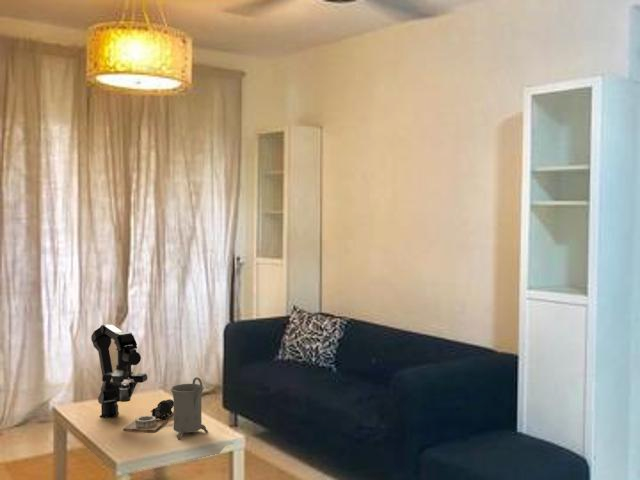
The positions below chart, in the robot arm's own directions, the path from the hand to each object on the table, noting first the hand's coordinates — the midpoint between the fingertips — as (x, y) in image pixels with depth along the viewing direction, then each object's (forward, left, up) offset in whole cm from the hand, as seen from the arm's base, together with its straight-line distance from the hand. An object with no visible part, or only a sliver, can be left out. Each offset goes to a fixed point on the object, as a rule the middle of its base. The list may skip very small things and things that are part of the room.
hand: (125, 396), depth 292 cm
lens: (0, 0, -2) cm, 2 cm away
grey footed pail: (+32, -9, -12) cm, 36 cm away
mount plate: (+10, -2, -12) cm, 16 cm away
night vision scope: (+13, +12, -12) cm, 22 cm away
